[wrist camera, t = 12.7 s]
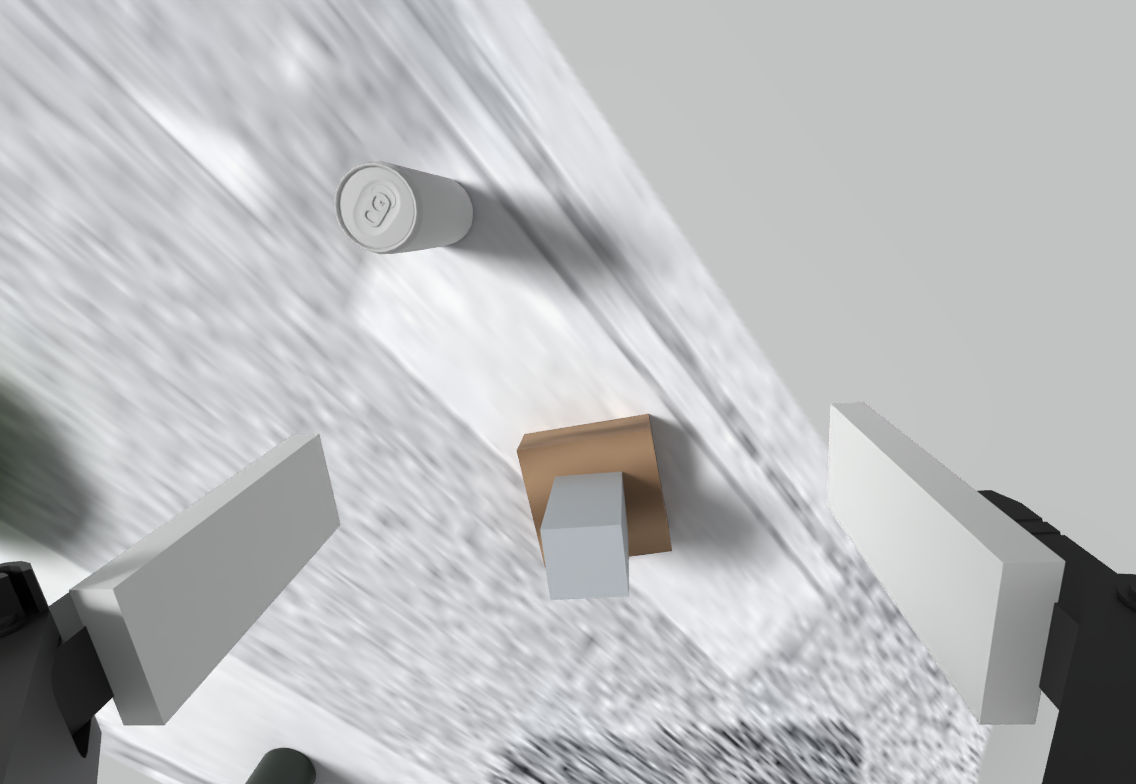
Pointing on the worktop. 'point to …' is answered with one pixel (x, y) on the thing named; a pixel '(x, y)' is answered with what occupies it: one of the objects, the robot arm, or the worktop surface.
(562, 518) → the slate block
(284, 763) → the wine bottle
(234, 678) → the worktop surface
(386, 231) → the beverage can
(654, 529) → the walnut block
